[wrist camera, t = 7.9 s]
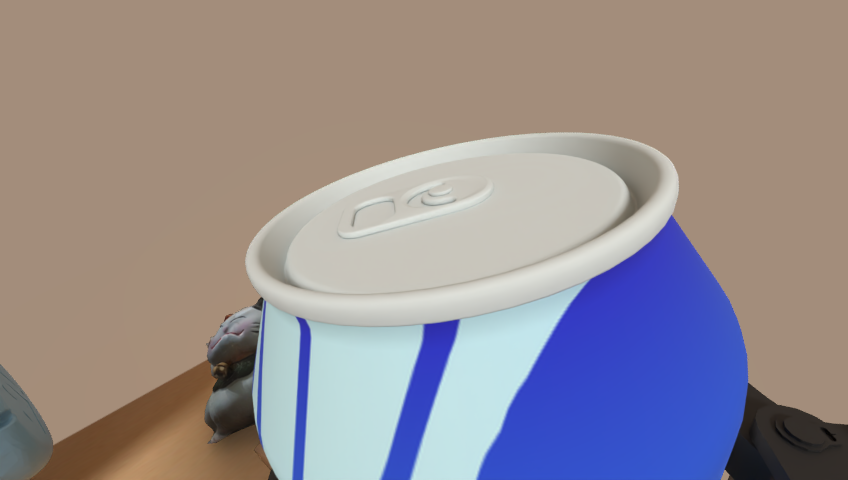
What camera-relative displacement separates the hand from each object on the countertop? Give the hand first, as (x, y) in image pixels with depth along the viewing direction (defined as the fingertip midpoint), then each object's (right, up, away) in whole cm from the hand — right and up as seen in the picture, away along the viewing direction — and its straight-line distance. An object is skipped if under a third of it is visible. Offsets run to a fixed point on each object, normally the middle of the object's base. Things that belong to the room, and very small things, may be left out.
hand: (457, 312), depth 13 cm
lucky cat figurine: (-22, -18, +28) cm, 40 cm away
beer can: (+3, -10, 0) cm, 10 cm away
